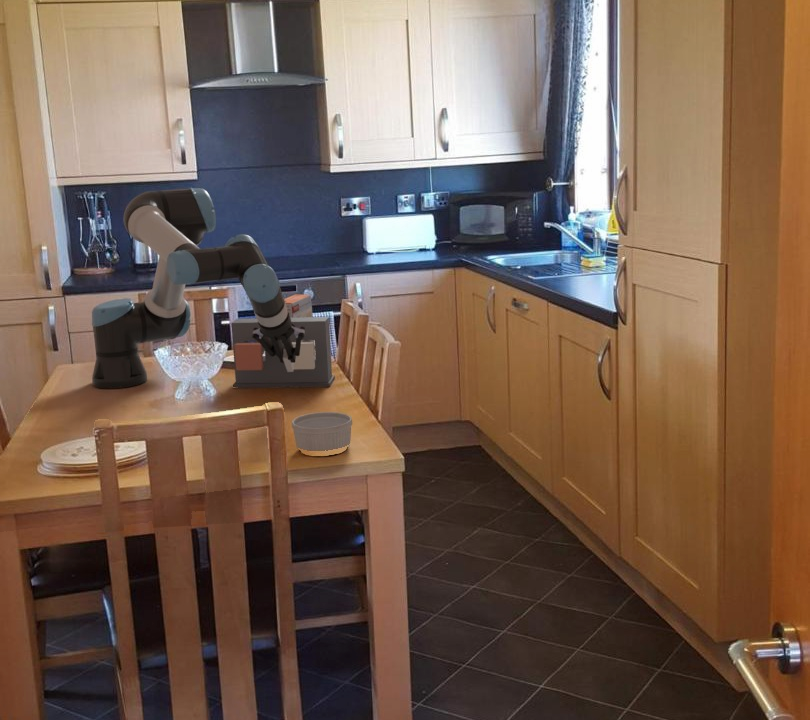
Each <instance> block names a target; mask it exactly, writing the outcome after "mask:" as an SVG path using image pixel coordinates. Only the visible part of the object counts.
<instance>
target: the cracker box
mask: <svg viewBox="0 0 810 720" xmlns="http://www.w3.org/2000/svg"><path fill="white" fill-rule="evenodd" d="M284 301H285V304H286V307H287V310H288V312H289V315H290V318H302V317H313V304H312V295H311V294H299V293H298V294H297V293H295V294H293V295H291V296H288V297H286V298H284ZM303 341H305V340H301V342H303ZM309 341H311V342H314V343H315V340H309ZM314 355H316V353H315V351H314Z"/></svg>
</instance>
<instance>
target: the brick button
mask: <svg viewBox="0 0 810 720" xmlns="http://www.w3.org/2000/svg"><path fill="white" fill-rule="evenodd" d="M234 347H235V360H236V370H262V369H263V368H264V366H263V356H264V355H265V349H264V348H263V346H262V345H261V344H260V343H259V342H258V341H251V342H250V343H236V344H235V345H234Z"/></svg>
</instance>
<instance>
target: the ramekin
mask: <svg viewBox="0 0 810 720" xmlns="http://www.w3.org/2000/svg"><path fill="white" fill-rule="evenodd" d="M352 418H353V417H352V416H350V415H349V414H347V413H344V412H343V413H342V412H335V411H324V412H323V411H321V412H320V411H319V412H311V413H306V414H302V415H299V416H297V417H295V418H294V419H292V421H291V428H292V430H293V434H294V441H295V445H296V448H297V447H298V448H300V449H303V450H307V451H325V450H326V451H328V450H333V449H338V448H342V447H345V446H347V445H349V444H350V445H351V439H352V438H351V437H352V425H353V419H352ZM350 445H349V446H350Z"/></svg>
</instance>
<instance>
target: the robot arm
mask: <svg viewBox="0 0 810 720" xmlns="http://www.w3.org/2000/svg"><path fill="white" fill-rule="evenodd" d="M216 219H217V217H216V210H215V206H214V203H213V200H212V198H211V196H210V193H208V191H207V190H206V189H204V188H199V187H198V188H197V187H193V188H192V187H189V188H178V189H164V190H162V189H161V190H149V191H148V190H147V191H145V192H142V193H140V194H138V195H137V196H135V197H134V198H132V199H131V200H130V202H129V203H128V204H127V206H126V208H125V210H124V213H123V225H124V228H125V230H126V232H127V233H128V234H129V235H130V237H132V238H133V239H134V240H135V241H137V242H138V243H141V244H145V245H147V246H148V247H149V249H151V250H152V251H153V252H154V253H156V255H158V260H157V264H156V270H155V274H154V280H153V284H152V287H151V288H152V289H149V291H148V292H147V293H146V294H145V296H144V301H141V302H140V301H139V302H134V300H133V299H131V298H121V299H119V298H118V299H113V300H108V301H105V302H102V303H100V304H98V305H96V306H95V307H94V308H93V309H92V311H91V326H92V330H93V340H94V341H93V342H94V349H95V350H94V351H95V358H96V359H95V363H94V367H93V371H92V375H91V376H92V377H91V380H92V381H91V382H92V386H93V387H95V388H97V389H108V390H109V389H123V388H130V387H134V386H139V385H141V384H144V383H146V382H147V381H148V375H147V370H146V368H145V365H144V363H143V360H142V358H141V356H140V354H139V346H138V345H139V344H144V343H151V342H152V343H153V342H159V341H166V340H174V339H177V338H181V337H183V336H185V335H186V333H188V331H189V329H190V326H191V309H190V305H189V302H188V301H187V300H186V299H185V298H184V292H185V288H186V285H189V286H190V285H194V284H202V283H207V282H208V283H210V282H218V281H225V280H226V281H227V280H233V279H234V280H235V279H237V280H238V281H239V283H240V284H241V286H242V288H243V289H244V291H245V293H246V295H247V298H248V300H249V302H250V304H251V307H252V310H253V312H254V315H255V318H256V319H257V321H258V324H259V326H260V328H259V329H258V328H254V329H253V336H252V338H254V339H255V340H257V341H258V342H259V343H260V344H261V345H262V346H263V348H264V349H265V350H266V351H267V352H268V354H269V355H270V356H272V357H273V356H275V355H276V356H278V357H279V359H280V362H281V363H285V366H286V369H287V372H293V370H294V363H295V360H296V356H299V354H300V346H301V340H302V339H303V338H304V333H305V327H300V328H296V327H295V325H294V324H293V323H292V322H291V318H290V315H289V312H288V310H287V307H286V304H285V301H284V299H285V298H284V295H283V293H282V289H281V286H280V280H279V278H278V277H277V274H276V272H275V270H274V269H273V268H272V267H271V266H270V265H268V262H267V260H266V258H265V256H264V255H263V253H262V249H261V247H259V245H258V243H257V242H256V241H255V240H254V238H253V237H252V236H250V235H248V234H242V233H241V234H237V235H236V236H235V237H230V238H229V239H228V240H227V241H226V243H225V245H223V246H216V247H206V248H205V247H204V248H200V247H199V244H201V242H202V241H203V239H204V235H205V233H207V234H208V233H211V232H213V231H214V230H215V229H216V224H217V223H216V221H217V220H216ZM293 333H295V336H296V346H295V347H294V348H293V345H292V342H291V339H290V336H291V335H292V334H293ZM269 338H270V339H271V340H270V339H269ZM281 341H282V343H283V344H284V346H282V343H281ZM284 347H285V349H284V351H283V348H284Z"/></svg>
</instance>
